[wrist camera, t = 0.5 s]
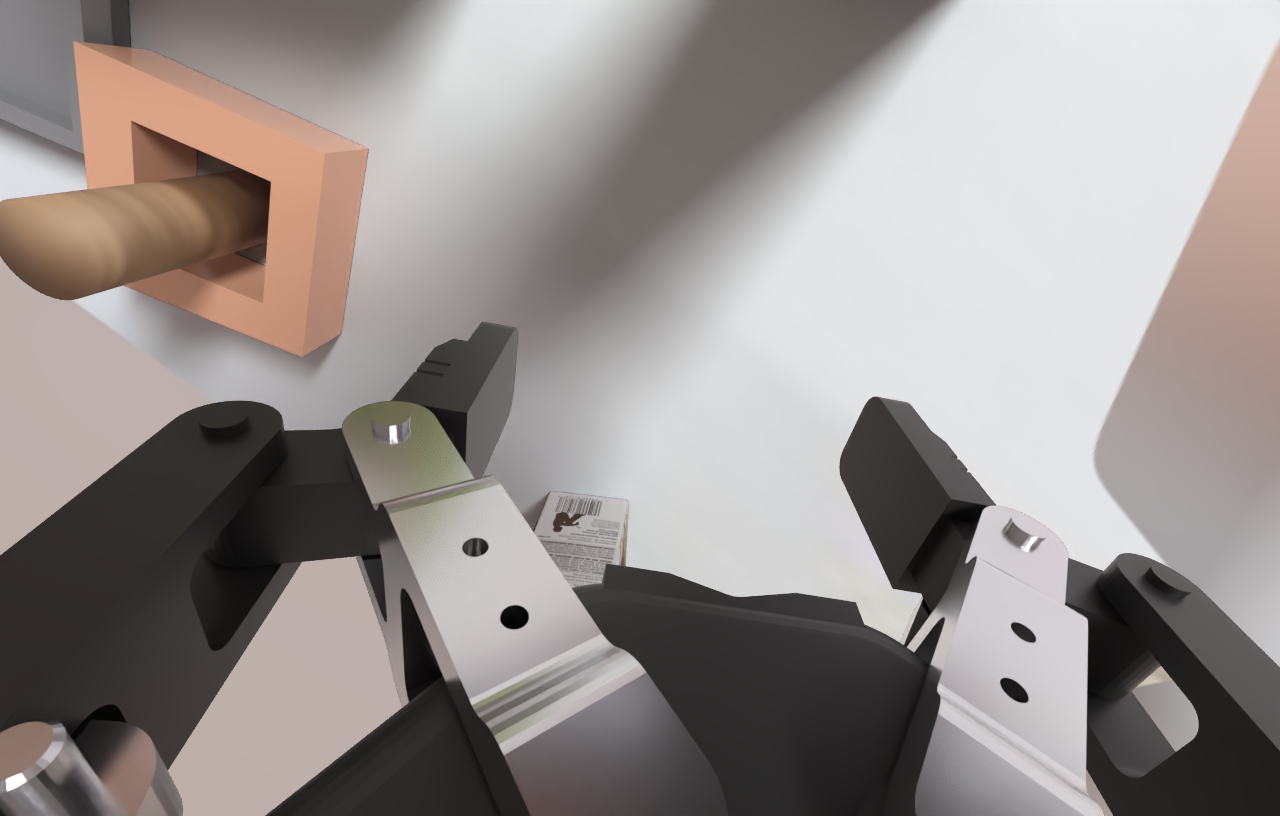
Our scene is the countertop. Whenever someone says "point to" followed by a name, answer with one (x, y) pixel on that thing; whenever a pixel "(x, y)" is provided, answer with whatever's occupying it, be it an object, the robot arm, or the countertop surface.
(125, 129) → the salmon square ring
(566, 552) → the coffee box
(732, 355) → the countertop surface
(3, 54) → the gray tray
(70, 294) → the walnut dowel
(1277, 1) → the countertop surface
